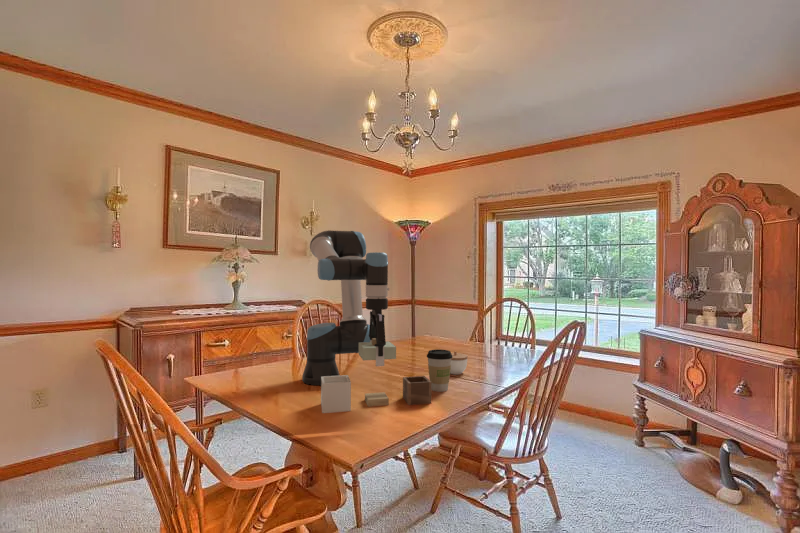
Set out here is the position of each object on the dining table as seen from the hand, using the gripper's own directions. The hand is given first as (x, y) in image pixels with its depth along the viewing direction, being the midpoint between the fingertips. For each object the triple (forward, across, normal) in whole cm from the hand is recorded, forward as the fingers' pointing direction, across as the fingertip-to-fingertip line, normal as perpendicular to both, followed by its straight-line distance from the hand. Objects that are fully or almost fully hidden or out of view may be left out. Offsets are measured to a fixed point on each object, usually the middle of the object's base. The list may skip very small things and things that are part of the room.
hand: (376, 362), depth 140 cm
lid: (-2, 0, 0) cm, 2 cm away
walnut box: (+15, 0, -14) cm, 20 cm away
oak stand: (+15, 0, 0) cm, 15 cm away
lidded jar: (+14, +36, -42) cm, 57 cm away
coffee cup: (+15, +10, -26) cm, 32 cm away
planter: (+15, -2, +14) cm, 20 cm away
